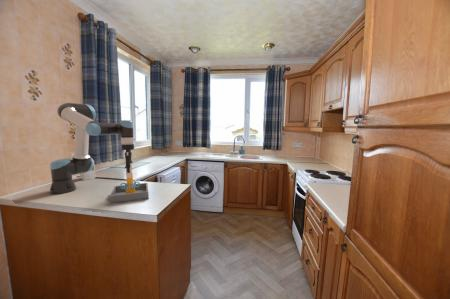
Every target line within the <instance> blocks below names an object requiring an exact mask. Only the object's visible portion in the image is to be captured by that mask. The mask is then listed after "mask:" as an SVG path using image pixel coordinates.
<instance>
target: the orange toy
mask: <svg viewBox="0 0 450 299" xmlns="http://www.w3.org/2000/svg"><path fill="white" fill-rule="evenodd" d="M125 179H126V182H122V183H120V184H119V186H120V187H121V186H122V185H124V188H122V187H121V188H122V189H124V190H126V194H128V193H135V187H136V188H137V187H139V186H140V184H141V183H140V181H136V180H135V179H134V174H133V171H132V172H131V178H126V177H125ZM134 184H135V185H136V184H139V185H138V186H135V185H134ZM125 186H126V187H125ZM125 188H126V189H125Z"/></svg>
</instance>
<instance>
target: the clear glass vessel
mask: <svg viewBox="0 0 450 299" xmlns="http://www.w3.org/2000/svg"><path fill="white" fill-rule="evenodd" d="M93 162H94V163H95V160H94V159H93ZM79 179H80V180H82V181H87V180H93V179H96V168H95V164H94V166H93V168H92V170H91V171H89V172H86V173H80V174H79Z"/></svg>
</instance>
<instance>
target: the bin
mask: <svg viewBox="0 0 450 299" xmlns="http://www.w3.org/2000/svg"><path fill="white" fill-rule="evenodd" d="M124 185H125V184H122V185H121V187H122V188H124ZM134 185H135V184H134ZM138 185H139V184H138V183H136V185H135V186H138ZM121 187H120V185H115V186H113V188H112V191H110V192H111V193H110V195H109V202H110V205H112V204H120V203H128V202H135V201H143V200H149V195H150V194H149V184H148V182H144V183H140V186H139V187H137V188H136V187H135V193H128V194H126V190H124V189H122V188H121ZM125 187H126V186H125ZM125 189H126V188H125Z"/></svg>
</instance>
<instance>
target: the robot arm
mask: <svg viewBox="0 0 450 299" xmlns="http://www.w3.org/2000/svg"><path fill="white" fill-rule="evenodd" d="M57 114H58V115H57V116H59V118H60V119H62V120H64V121H67V122H70V123H73V124H74V126H75V127H74V128H75V130H74V131H75V132H74V133H75V135H74V154H73V155H72V158H69V157H68V158H67V157H65V158H59V159H55V160H52V161H51V162H50V166H49V167H50V168H49V169H50V175H51V185H50V187H49V193H50V194H51V195H61V194H66V193H67V194H68V193H71V192H75V191H76V190H77V186H76V183H75V182H74V180H73V176H74V175H80V173H86V172H89V171H91V170H92V168H93V166H94V165H95V161H94V162H93V160H94V159H93V158H92V157H91V155H90V154H89V142H90V136H94V137H95V136H96V137H97V136H111V135H112V136H113V135H120V143H121V150H122V151H125V152H124V158H125V166H124V169H125V176H126V177H125V179H126V178H131V172H133V161H132V151H134V150H135V145H134V141H135V138H134V124H133V120H130V119H129V120H125V119H124V120H120V121H119V122H117V123H116V122H114V123H113V122H112V123H111V122H108V123H107V122H106V123H105V122H102V123H101V122H98V121H95V119H96V116H97V114H96V110H95V108H94V107H93V106H92V105H90V104H85V103H72V102H66V103H62V104H60V105H59V106H58V107H57Z"/></svg>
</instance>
